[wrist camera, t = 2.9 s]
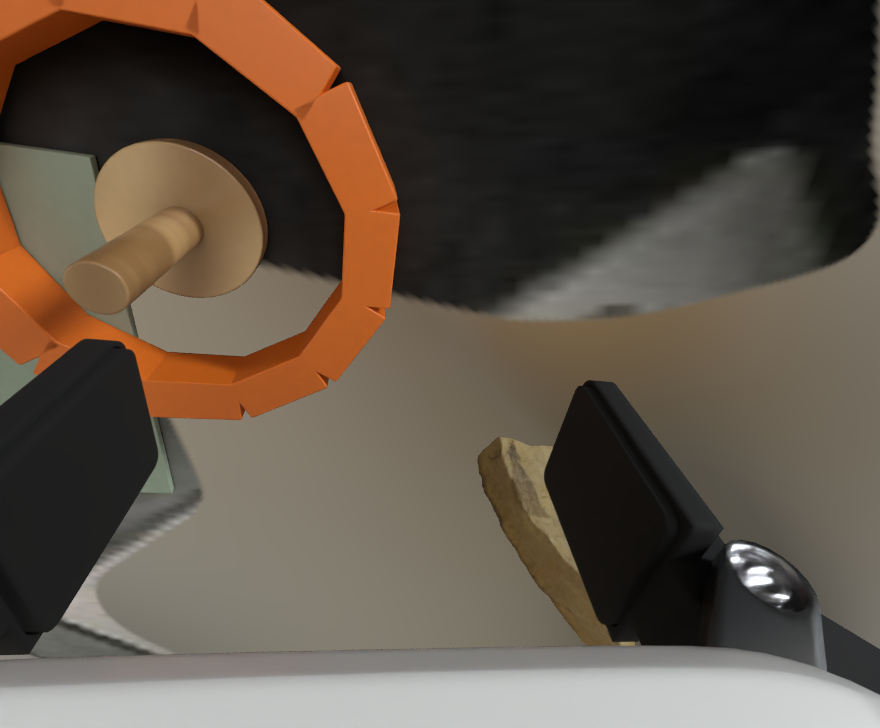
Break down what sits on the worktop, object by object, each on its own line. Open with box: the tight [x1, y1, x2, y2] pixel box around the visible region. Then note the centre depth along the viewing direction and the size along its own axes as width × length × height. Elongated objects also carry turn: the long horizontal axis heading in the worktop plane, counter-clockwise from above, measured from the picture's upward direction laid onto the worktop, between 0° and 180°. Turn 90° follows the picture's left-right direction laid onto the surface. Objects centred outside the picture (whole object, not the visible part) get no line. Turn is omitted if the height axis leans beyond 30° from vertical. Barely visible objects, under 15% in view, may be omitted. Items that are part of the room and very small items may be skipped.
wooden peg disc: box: [63, 138, 268, 315], centre depth 15 cm, size 6×6×7 cm
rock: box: [478, 437, 635, 646], centre depth 25 cm, size 11×9×10 cm
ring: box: [0, 0, 400, 420], centre depth 17 cm, size 16×16×2 cm
